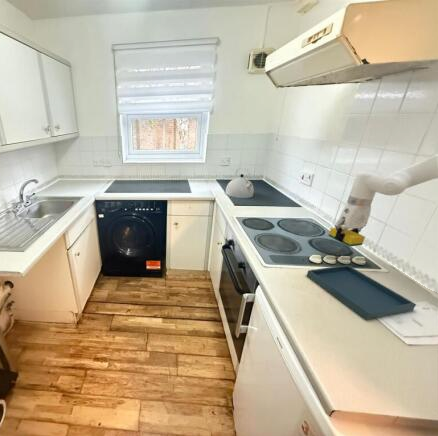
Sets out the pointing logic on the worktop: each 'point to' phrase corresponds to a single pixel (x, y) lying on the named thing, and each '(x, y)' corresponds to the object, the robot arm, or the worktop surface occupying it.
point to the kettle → (240, 187)
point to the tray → (360, 292)
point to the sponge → (349, 237)
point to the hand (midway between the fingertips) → (345, 239)
